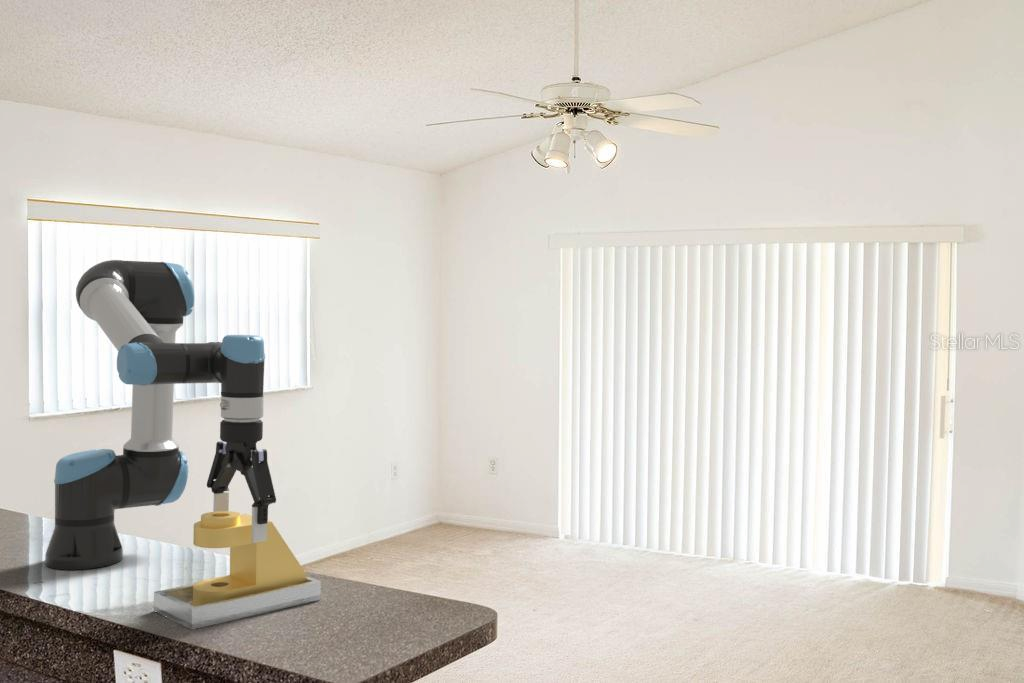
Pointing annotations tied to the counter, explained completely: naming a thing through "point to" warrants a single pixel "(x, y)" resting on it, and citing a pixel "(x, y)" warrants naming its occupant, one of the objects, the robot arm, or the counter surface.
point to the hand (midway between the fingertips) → (239, 534)
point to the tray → (231, 604)
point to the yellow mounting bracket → (244, 559)
